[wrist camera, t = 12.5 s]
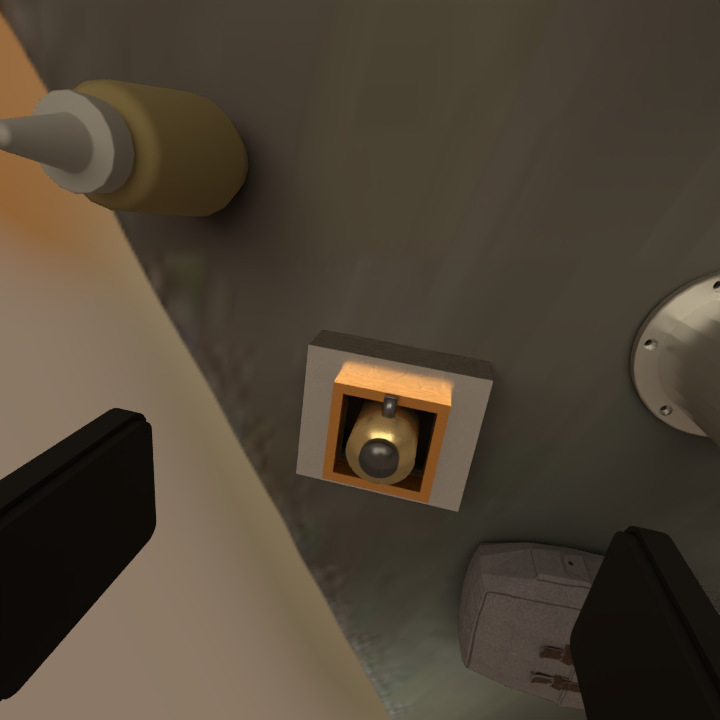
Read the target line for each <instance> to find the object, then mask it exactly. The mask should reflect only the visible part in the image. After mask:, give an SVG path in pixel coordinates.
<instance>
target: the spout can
mask: <svg viewBox="0 0 720 720" xmlns="http://www.w3.org/2000/svg"><path fill="white" fill-rule="evenodd" d="M397 403H398V397H397V396H395V395H391V394H388V395H385V396H384V402H380V401H375V400H371V399H365V401H364V404H363V406H362V408H361V411H360V413H359V416H358V418H357V420H356V423H355V425H354V428H353V430H352V432H351V435H350V437H349V439H348V442H347V445H346V457H347V461H348V463H349V465H350V467H351V468H352V470H353V471H354V472H355V473H356V474H357V475H358V476H359V477H361V478H362V479H364V480H366V481H368V482H371V483H374V484H379V485H389V484H394V483H397V482H399V481H401V480H403V479H404V478H406V477H407V476H408V475H409V474H410V472H411V471H412V469H413V467H414V463H415V457H416V450H417V443H418V436H419V429H420V422H421V415H422V410H418V409H414V408H409V407H404V406H399V405H397Z"/></svg>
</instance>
